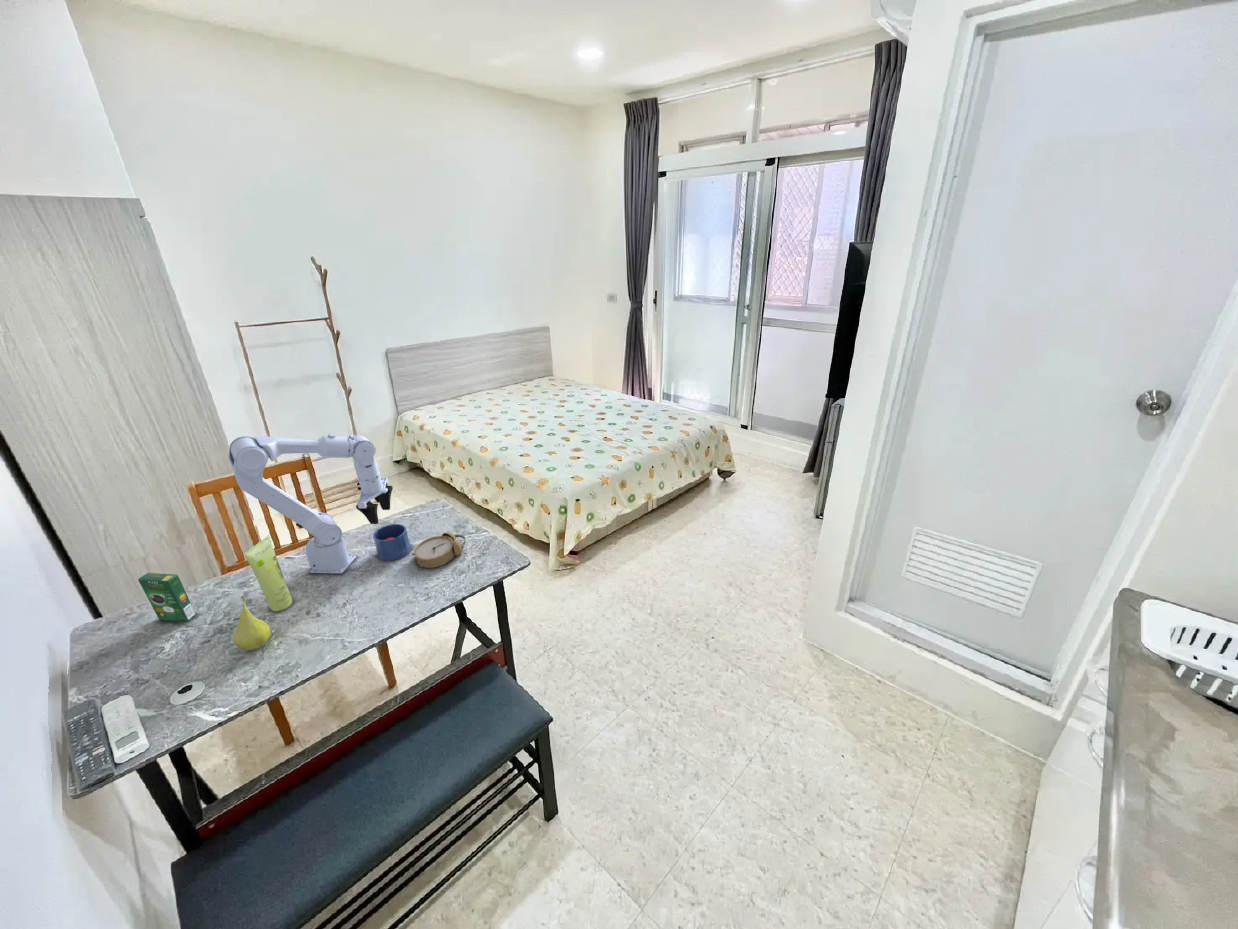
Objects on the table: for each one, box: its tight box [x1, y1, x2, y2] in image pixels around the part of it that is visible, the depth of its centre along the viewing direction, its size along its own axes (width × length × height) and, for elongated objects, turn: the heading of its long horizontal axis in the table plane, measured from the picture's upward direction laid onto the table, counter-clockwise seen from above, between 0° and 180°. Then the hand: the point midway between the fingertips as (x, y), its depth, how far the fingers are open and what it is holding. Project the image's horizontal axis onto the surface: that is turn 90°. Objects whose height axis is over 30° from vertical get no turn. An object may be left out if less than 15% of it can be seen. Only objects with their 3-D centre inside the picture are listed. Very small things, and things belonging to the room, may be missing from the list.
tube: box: [244, 534, 293, 612], centre depth 121 cm, size 6×5×20 cm
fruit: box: [232, 595, 271, 651], centre depth 111 cm, size 7×8×12 cm
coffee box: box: [137, 572, 197, 623], centre depth 119 cm, size 8×3×13 cm, turn 86°
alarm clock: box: [411, 531, 467, 569], centre depth 144 cm, size 11×5×15 cm
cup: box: [372, 523, 411, 562], centre depth 145 cm, size 9×9×7 cm
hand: (380, 516), depth 145 cm, fingers open, 7 cm apart
